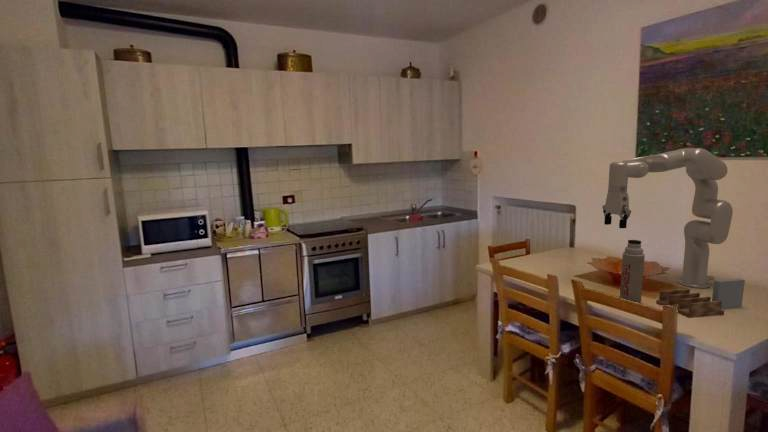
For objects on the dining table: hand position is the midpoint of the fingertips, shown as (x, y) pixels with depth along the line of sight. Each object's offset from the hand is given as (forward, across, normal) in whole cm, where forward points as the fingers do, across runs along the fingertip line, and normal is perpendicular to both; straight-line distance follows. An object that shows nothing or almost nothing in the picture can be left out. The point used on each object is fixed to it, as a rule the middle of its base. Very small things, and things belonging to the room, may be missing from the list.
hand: (615, 226), depth 188 cm
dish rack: (+31, -26, -16) cm, 44 cm away
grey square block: (+31, -28, -32) cm, 53 cm away
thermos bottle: (+31, -16, +3) cm, 35 cm away
